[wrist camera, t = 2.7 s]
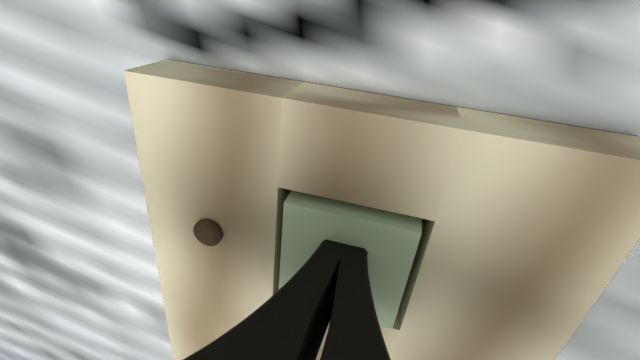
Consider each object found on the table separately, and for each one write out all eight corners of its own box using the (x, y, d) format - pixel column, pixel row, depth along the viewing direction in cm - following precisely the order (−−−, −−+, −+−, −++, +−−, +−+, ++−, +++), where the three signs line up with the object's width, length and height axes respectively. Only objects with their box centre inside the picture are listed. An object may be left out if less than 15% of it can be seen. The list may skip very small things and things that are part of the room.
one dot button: (420, 203, 11) (421, 233, 10) (394, 293, 13) (392, 328, 12) (299, 178, 12) (283, 202, 10) (292, 267, 14) (278, 297, 12)
